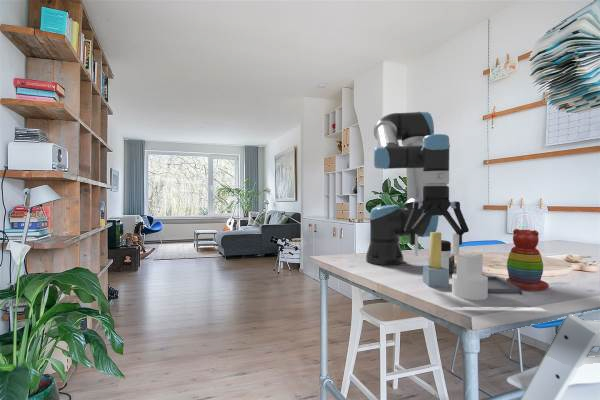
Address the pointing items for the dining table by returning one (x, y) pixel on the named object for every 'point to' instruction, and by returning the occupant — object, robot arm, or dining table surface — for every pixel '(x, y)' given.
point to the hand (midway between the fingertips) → (435, 255)
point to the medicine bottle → (446, 256)
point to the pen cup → (436, 276)
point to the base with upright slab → (470, 278)
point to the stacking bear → (526, 262)
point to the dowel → (435, 250)
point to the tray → (501, 286)
